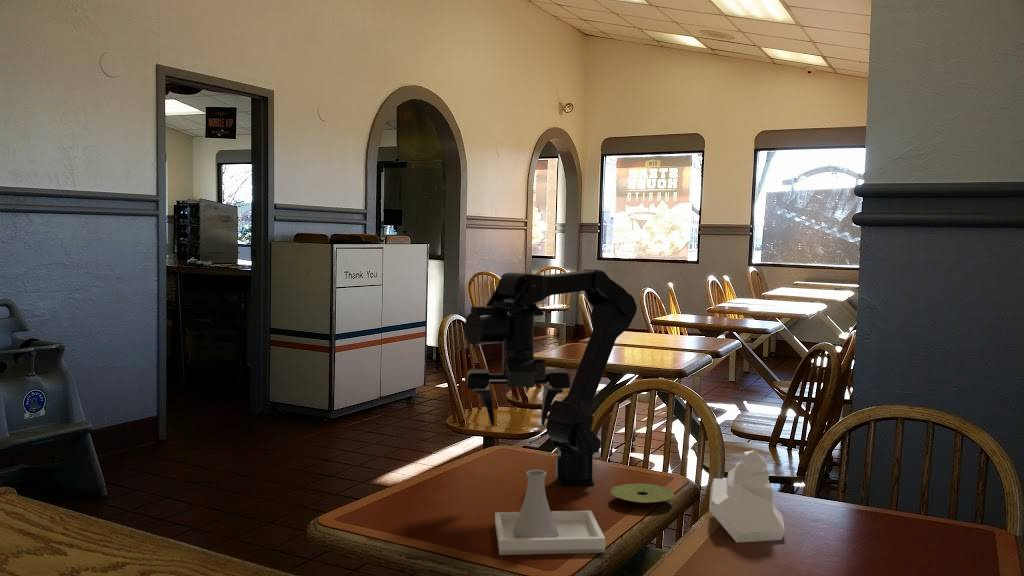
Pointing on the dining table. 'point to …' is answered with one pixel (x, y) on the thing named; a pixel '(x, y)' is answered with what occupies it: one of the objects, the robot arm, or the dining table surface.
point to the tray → (574, 537)
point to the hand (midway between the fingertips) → (517, 425)
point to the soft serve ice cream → (747, 502)
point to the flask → (535, 510)
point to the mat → (642, 493)
